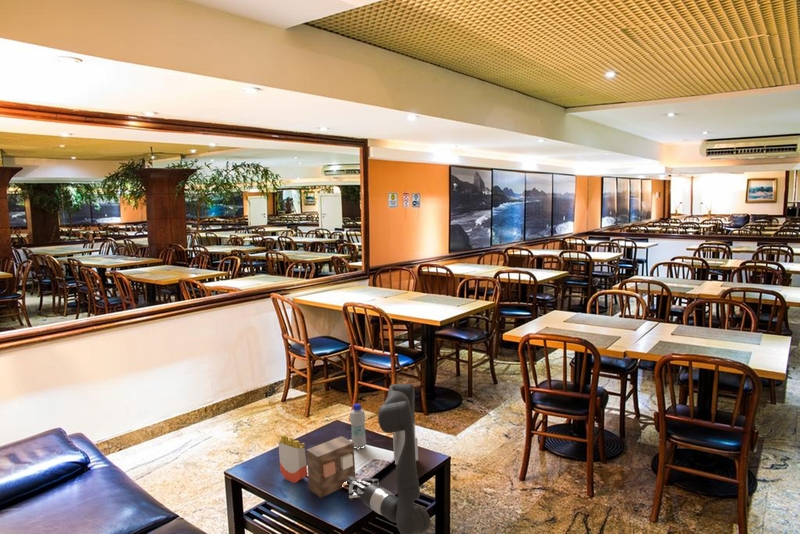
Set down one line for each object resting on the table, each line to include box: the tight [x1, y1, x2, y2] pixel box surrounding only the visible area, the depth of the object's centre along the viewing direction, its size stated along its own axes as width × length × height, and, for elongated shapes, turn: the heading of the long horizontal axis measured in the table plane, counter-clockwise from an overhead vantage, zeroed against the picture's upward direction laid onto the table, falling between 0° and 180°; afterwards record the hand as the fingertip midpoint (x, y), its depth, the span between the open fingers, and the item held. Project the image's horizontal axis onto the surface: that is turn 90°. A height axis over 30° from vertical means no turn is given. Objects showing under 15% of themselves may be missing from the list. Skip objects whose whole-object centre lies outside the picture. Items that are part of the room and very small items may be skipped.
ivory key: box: [340, 453, 353, 470], centre depth 201 cm, size 4×4×4 cm
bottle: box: [349, 403, 367, 449], centre depth 232 cm, size 7×7×20 cm
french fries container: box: [277, 433, 308, 484], centre depth 208 cm, size 5×11×18 cm, turn 54°
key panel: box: [306, 435, 356, 499], centre depth 202 cm, size 16×8×16 cm, turn 131°
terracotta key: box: [322, 460, 336, 478], centre depth 196 cm, size 4×4×4 cm
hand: (349, 479), depth 186 cm, fingers closed
